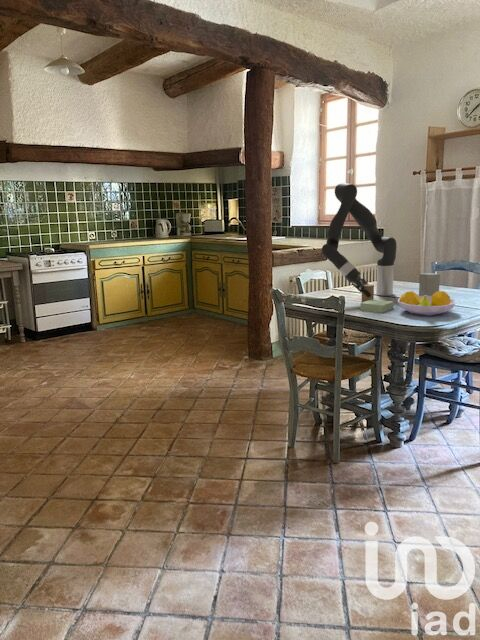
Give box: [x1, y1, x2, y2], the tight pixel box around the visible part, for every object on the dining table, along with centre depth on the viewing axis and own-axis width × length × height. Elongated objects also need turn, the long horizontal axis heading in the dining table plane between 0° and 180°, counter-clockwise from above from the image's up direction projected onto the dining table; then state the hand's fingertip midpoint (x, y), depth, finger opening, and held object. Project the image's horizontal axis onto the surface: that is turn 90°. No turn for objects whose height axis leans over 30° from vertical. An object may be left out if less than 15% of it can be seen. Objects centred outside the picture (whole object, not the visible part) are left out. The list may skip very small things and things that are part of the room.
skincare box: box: [418, 272, 441, 296], centre depth 269 cm, size 8×7×16 cm
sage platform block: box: [359, 298, 394, 313], centre depth 260 cm, size 12×12×4 cm
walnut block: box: [361, 284, 375, 303], centre depth 273 cm, size 5×5×10 cm
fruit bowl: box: [397, 290, 456, 317], centre depth 247 cm, size 28×27×11 cm
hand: (371, 295), depth 272 cm, fingers closed on walnut block, 5 cm apart
